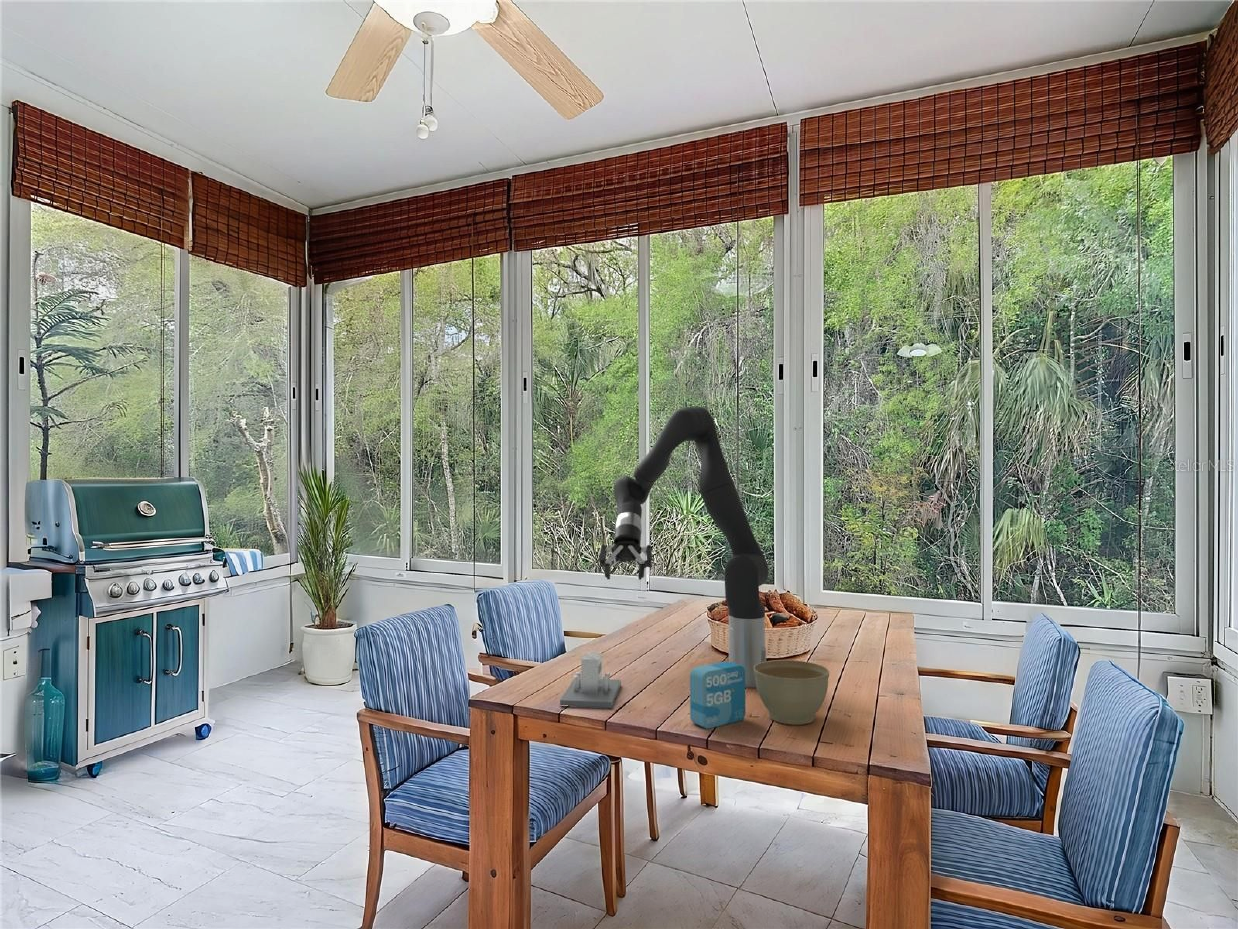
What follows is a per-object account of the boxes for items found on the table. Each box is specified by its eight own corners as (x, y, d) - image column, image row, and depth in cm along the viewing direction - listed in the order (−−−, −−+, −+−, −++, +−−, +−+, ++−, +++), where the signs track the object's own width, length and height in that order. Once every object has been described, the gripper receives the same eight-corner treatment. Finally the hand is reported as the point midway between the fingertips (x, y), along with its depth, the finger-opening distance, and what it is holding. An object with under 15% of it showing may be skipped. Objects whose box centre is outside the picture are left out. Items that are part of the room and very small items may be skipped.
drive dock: (620, 685, 179) (620, 666, 179) (611, 708, 161) (611, 686, 161) (574, 684, 180) (574, 664, 180) (560, 706, 162) (560, 684, 162)
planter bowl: (827, 709, 160) (826, 661, 160) (832, 734, 144) (831, 681, 145) (755, 704, 164) (755, 657, 164) (752, 728, 148) (752, 676, 148)
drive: (601, 686, 173) (601, 653, 173) (598, 693, 167) (598, 659, 168) (585, 685, 174) (585, 653, 174) (581, 692, 168) (581, 659, 168)
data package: (703, 730, 147) (702, 672, 147) (689, 724, 151) (689, 667, 151) (746, 719, 153) (745, 664, 154) (732, 714, 157) (731, 660, 157)
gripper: (601, 523, 198) (596, 569, 186) (652, 522, 196) (649, 569, 184) (604, 540, 203) (599, 586, 191) (653, 540, 201) (651, 586, 189)
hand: (624, 577), depth 188 cm, fingers open, 8 cm apart
